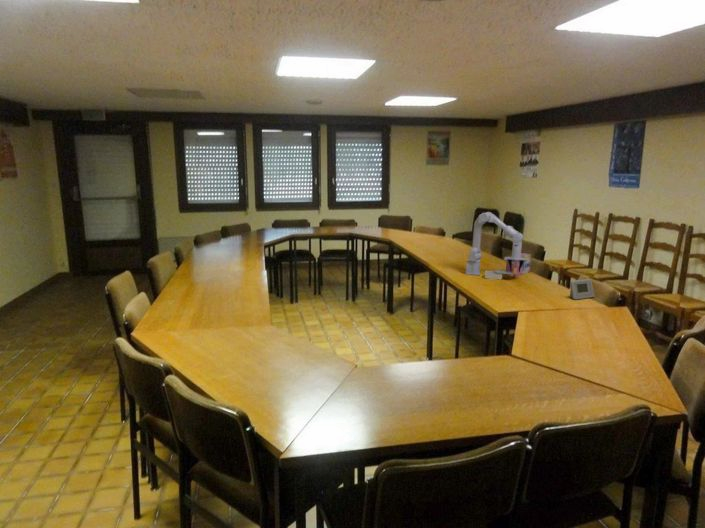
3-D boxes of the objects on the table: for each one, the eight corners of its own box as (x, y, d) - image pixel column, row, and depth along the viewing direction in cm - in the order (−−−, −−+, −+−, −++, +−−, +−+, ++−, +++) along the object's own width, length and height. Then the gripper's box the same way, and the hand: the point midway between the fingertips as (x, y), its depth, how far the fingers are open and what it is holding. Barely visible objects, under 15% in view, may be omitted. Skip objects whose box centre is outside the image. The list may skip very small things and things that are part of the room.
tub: (484, 278, 322) (485, 272, 321) (484, 276, 330) (485, 270, 329) (501, 280, 319) (502, 274, 318) (501, 277, 327) (502, 271, 326)
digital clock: (573, 300, 272) (575, 282, 270) (563, 296, 281) (565, 278, 279) (598, 299, 276) (600, 281, 274) (587, 295, 284) (589, 277, 282)
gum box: (520, 270, 351) (522, 252, 348) (531, 272, 345) (532, 253, 342) (505, 275, 334) (506, 256, 331) (515, 277, 328) (517, 257, 326)
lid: (495, 273, 319) (495, 267, 318) (495, 270, 327) (495, 264, 326) (516, 274, 316) (517, 268, 315) (516, 272, 324) (516, 266, 323)
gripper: (505, 251, 315) (503, 271, 318) (528, 253, 311) (526, 273, 314) (505, 249, 322) (503, 269, 324) (527, 251, 318) (526, 271, 320)
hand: (514, 271), depth 320 cm, fingers open, 5 cm apart
